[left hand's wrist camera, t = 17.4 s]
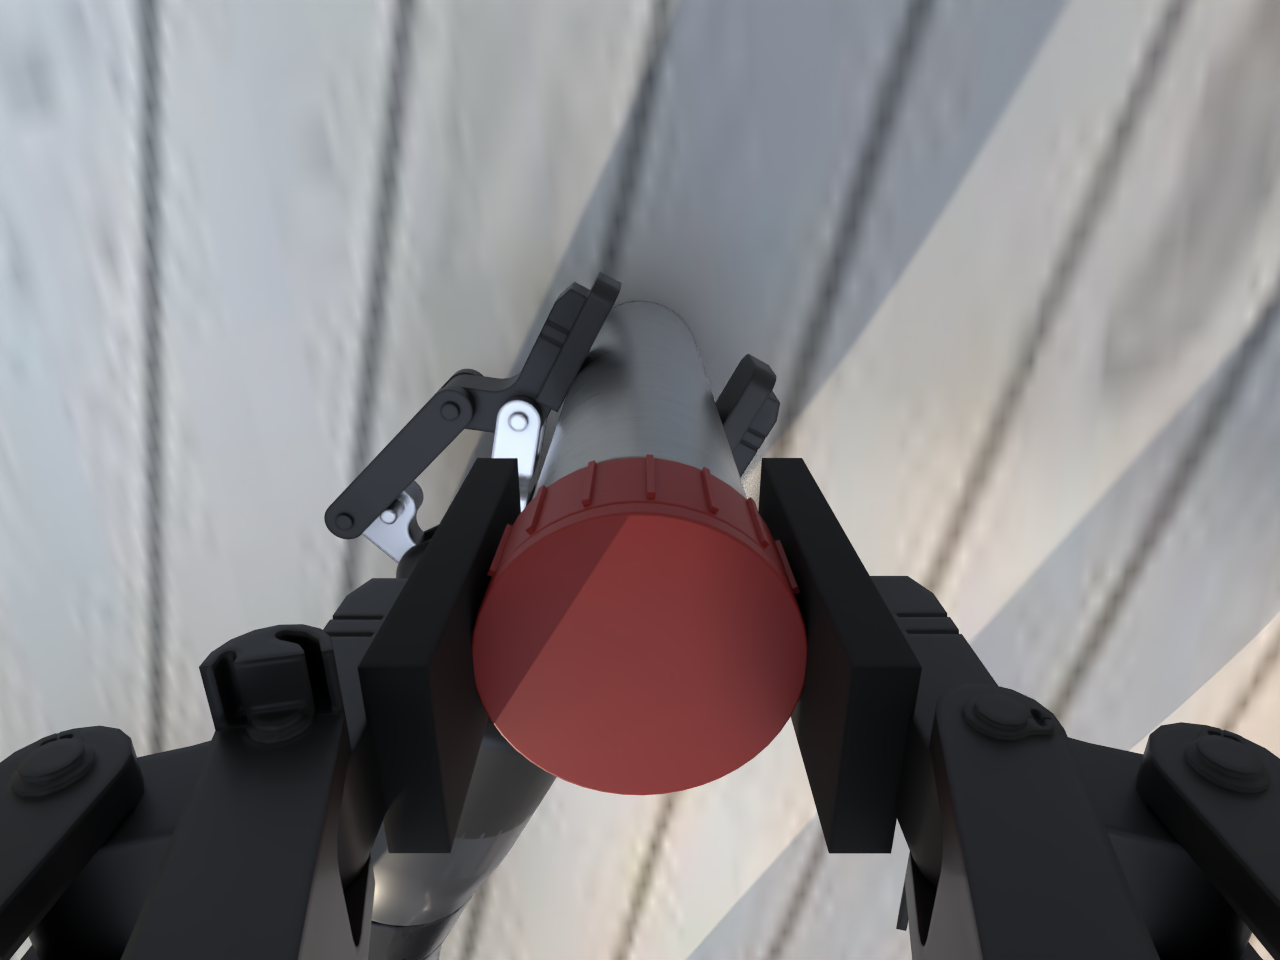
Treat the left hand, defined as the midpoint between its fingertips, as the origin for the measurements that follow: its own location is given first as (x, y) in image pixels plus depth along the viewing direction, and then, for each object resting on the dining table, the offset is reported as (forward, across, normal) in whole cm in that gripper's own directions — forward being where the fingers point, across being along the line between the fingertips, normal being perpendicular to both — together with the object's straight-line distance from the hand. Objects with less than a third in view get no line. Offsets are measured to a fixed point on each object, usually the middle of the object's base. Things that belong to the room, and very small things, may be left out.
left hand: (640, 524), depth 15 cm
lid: (-4, 0, 0) cm, 4 cm away
